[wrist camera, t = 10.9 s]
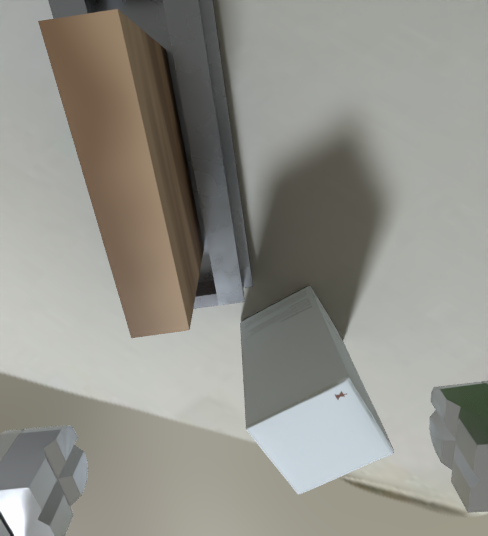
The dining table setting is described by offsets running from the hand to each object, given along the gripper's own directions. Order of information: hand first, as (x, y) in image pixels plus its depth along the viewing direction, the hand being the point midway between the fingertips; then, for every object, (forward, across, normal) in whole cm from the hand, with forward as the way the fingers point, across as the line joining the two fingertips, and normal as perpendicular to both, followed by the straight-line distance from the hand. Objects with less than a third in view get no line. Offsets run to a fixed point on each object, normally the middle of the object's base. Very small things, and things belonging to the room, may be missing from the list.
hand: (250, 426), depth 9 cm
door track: (+24, +6, -3) cm, 25 cm away
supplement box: (+24, -2, +14) cm, 28 cm away
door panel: (+22, +6, -3) cm, 23 cm away
